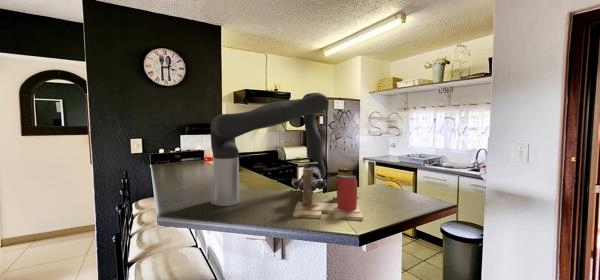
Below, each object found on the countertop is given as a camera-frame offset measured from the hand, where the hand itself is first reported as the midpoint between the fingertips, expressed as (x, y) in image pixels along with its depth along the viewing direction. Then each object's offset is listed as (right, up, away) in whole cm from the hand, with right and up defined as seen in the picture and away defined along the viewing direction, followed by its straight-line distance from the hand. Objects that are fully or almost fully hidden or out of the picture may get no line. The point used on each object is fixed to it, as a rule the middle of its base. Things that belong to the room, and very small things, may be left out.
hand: (306, 188), depth 89 cm
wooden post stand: (+7, -8, +3) cm, 11 cm away
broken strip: (+7, -8, -4) cm, 11 cm away
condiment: (+16, -7, +18) cm, 25 cm away
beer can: (+14, -8, +2) cm, 16 cm away
